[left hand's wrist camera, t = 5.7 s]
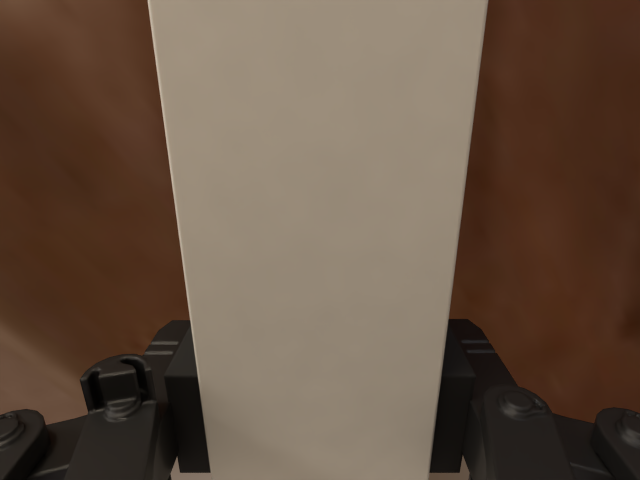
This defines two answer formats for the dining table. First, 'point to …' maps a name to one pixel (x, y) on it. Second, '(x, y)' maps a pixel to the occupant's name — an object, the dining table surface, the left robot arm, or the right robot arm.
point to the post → (318, 222)
